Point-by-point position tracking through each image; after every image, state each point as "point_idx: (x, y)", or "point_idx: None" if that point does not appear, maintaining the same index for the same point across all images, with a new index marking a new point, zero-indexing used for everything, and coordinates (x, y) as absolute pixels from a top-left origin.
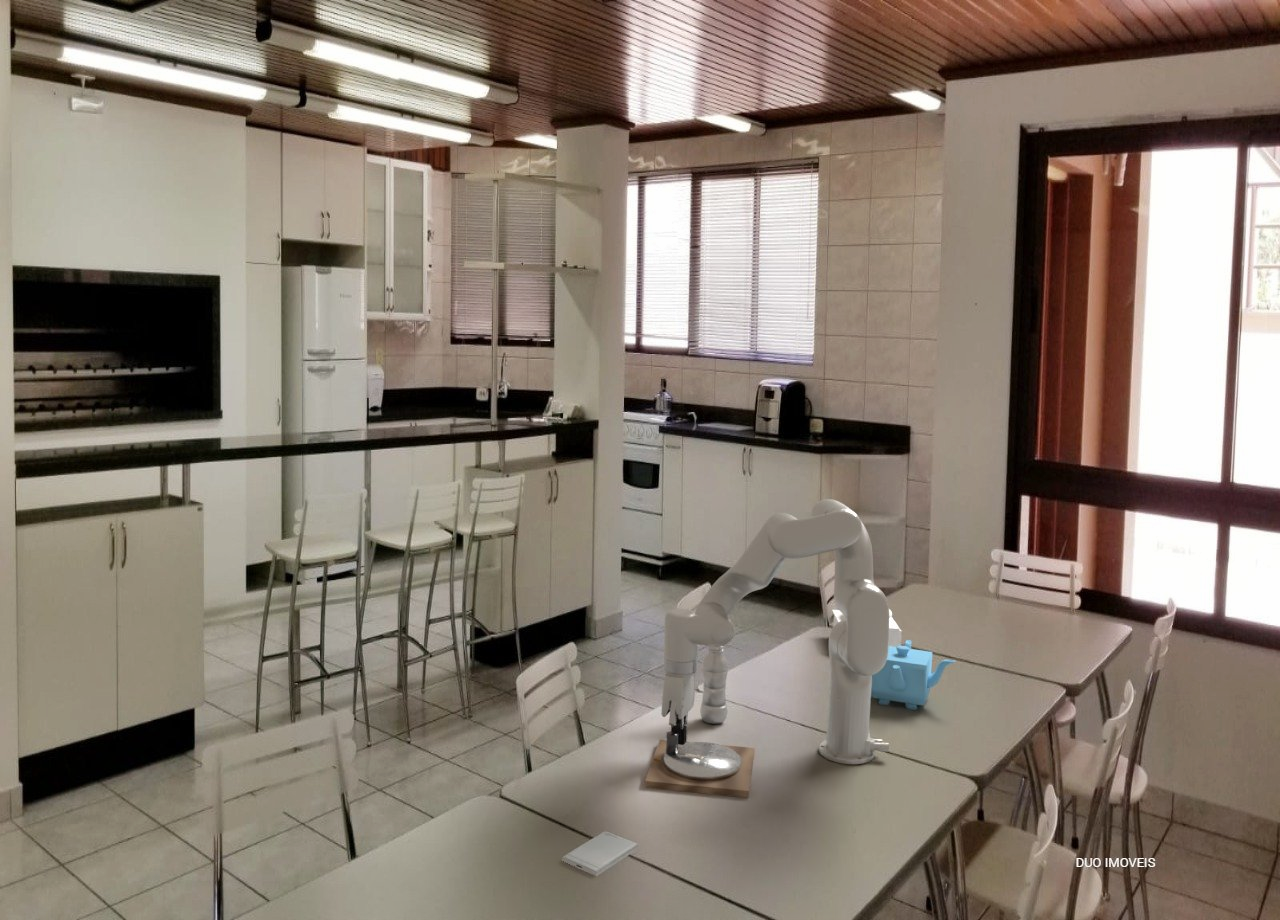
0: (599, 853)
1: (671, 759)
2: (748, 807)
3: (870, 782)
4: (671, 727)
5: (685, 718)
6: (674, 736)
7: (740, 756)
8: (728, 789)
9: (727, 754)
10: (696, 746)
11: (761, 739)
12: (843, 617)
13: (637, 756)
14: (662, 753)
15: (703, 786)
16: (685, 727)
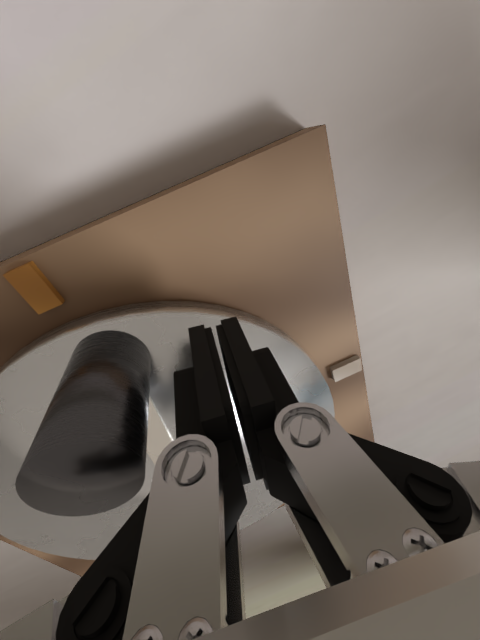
0: None
1: (32, 406)
2: (59, 585)
3: (320, 582)
4: (200, 412)
5: (310, 555)
6: (59, 508)
7: None
8: (67, 567)
9: (261, 492)
10: None
11: (464, 408)
12: None
13: (59, 63)
14: (141, 262)
15: (3, 540)
16: (263, 479)
